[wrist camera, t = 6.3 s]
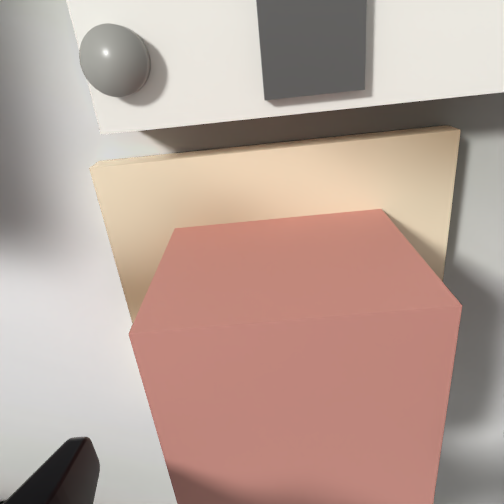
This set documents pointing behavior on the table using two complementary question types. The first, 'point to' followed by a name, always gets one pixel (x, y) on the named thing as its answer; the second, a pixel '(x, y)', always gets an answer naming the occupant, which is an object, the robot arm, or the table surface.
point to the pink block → (298, 362)
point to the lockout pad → (277, 192)
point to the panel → (279, 56)
